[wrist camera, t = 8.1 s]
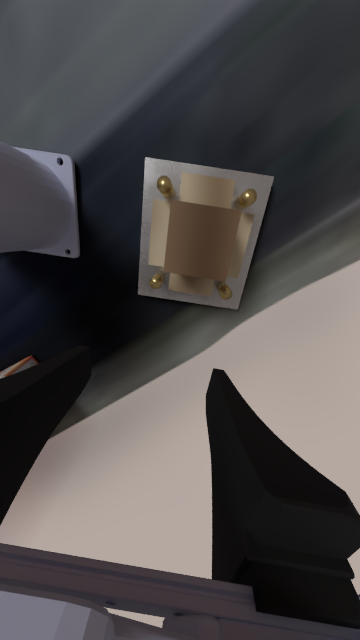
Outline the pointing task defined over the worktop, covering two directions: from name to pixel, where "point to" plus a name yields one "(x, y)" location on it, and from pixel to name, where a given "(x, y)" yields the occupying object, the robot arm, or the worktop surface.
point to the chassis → (165, 186)
